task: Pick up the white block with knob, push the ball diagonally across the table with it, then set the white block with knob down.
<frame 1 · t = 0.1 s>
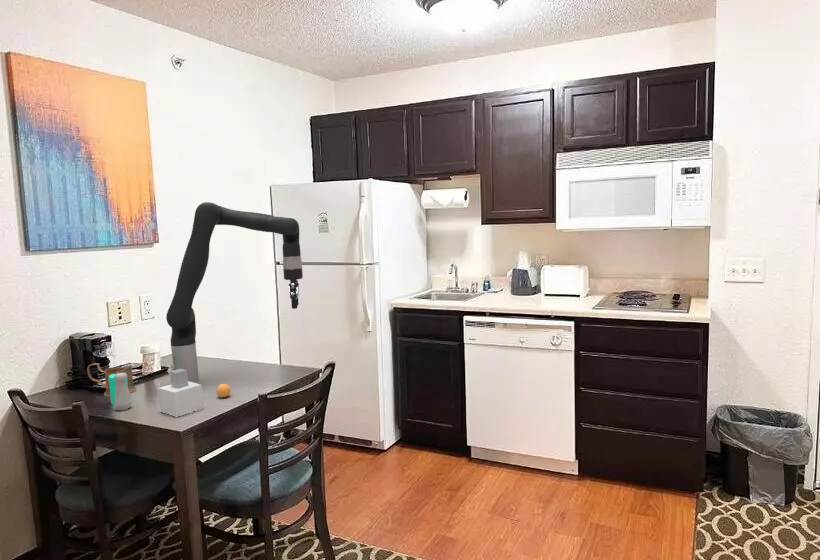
hand: (295, 306, 232), 29 cm above the table, tool pointing down, fingers open, 8 cm apart
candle: (120, 403, 211), on the table
salt shaker: (124, 409, 203), on the table
ball: (223, 390, 212), on the table
white block with knob: (182, 410, 198), on the table
mug: (112, 393, 224), on the table
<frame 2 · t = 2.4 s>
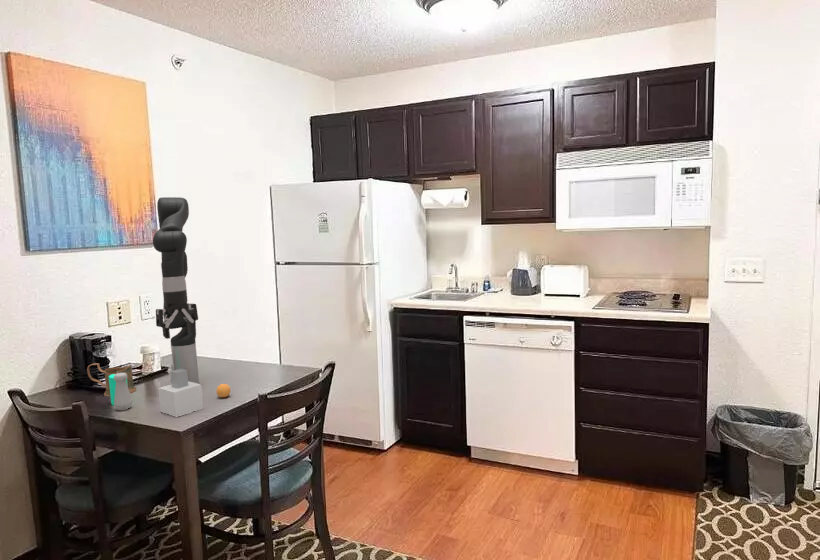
hand: (179, 336, 196), 26 cm above the table, tool pointing down, fingers open, 8 cm apart
nothing on the table moved.
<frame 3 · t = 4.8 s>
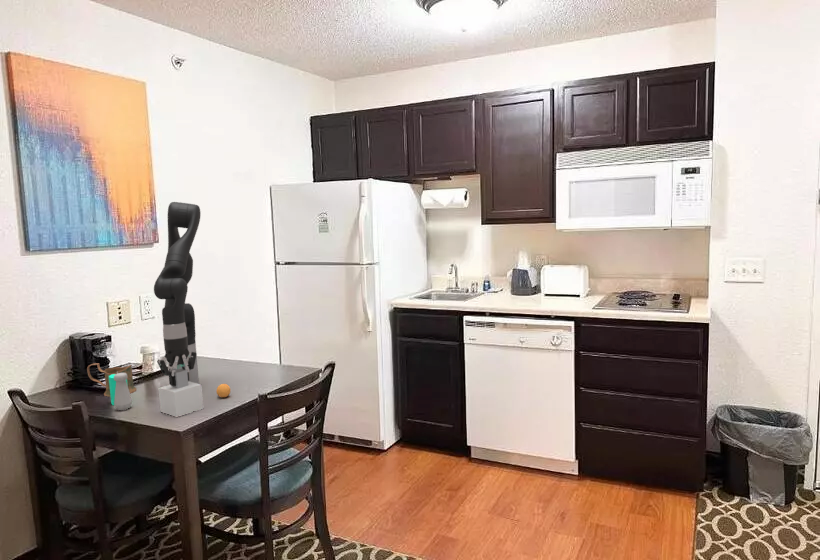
hand: (179, 384, 197), 10 cm above the table, tool pointing down, fingers closed on white block with knob, 4 cm apart
white block with knob: (182, 410, 198), on the table, touching gripper
everything else where it was.
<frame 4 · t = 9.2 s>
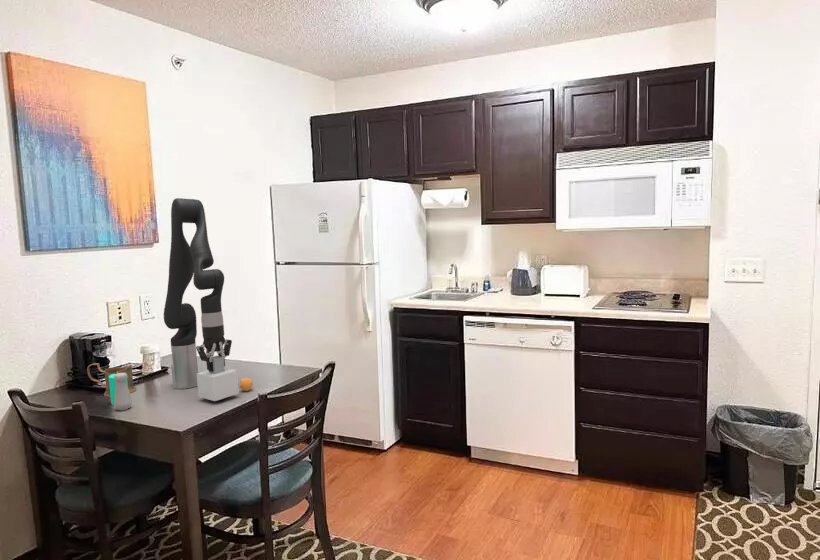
hand: (216, 369, 209), 11 cm above the table, tool pointing down, fingers closed on white block with knob, 4 cm apart
ball: (246, 384, 218), on the table
white block with knob: (218, 395, 210), point 1 cm above the table, touching gripper
everything else where it was.
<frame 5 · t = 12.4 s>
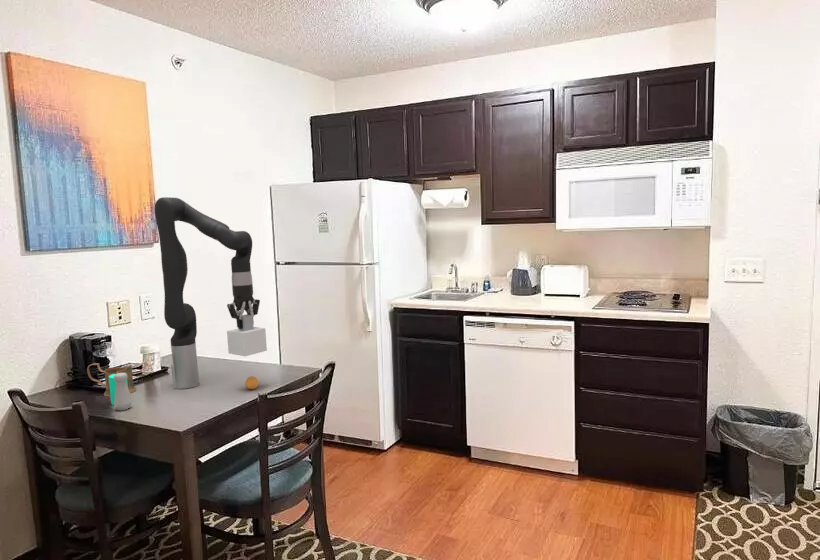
hand: (245, 327, 219), 24 cm above the table, tool pointing down, fingers closed on white block with knob, 4 cm apart
ball: (251, 382, 220), on the table
white block with knob: (247, 352, 220), point 15 cm above the table, touching gripper
everything else where it was.
when the fingers open (10 cm above the table, at t = 15.0 s): white block with knob stays where it is, on the table.
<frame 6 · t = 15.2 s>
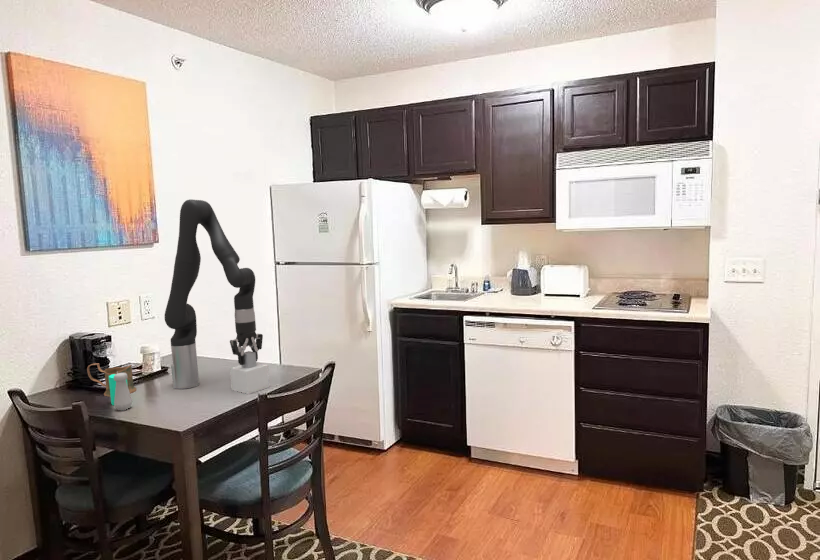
hand: (248, 362, 220), 10 cm above the table, tool pointing down, fingers open, 5 cm apart
white block with knob: (250, 388, 221), on the table
everything else where it was.
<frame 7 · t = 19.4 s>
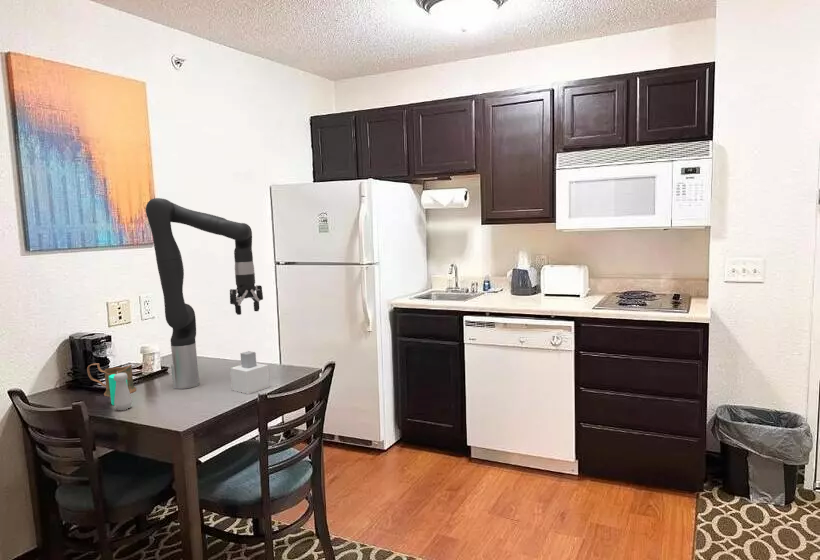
hand: (247, 312, 229), 28 cm above the table, tool pointing down, fingers open, 8 cm apart
nothing on the table moved.
at the end: ball 1.1 cm from the white block with knob (horizontally); white block with knob on the table; ball moved 12.0 cm from its start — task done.
